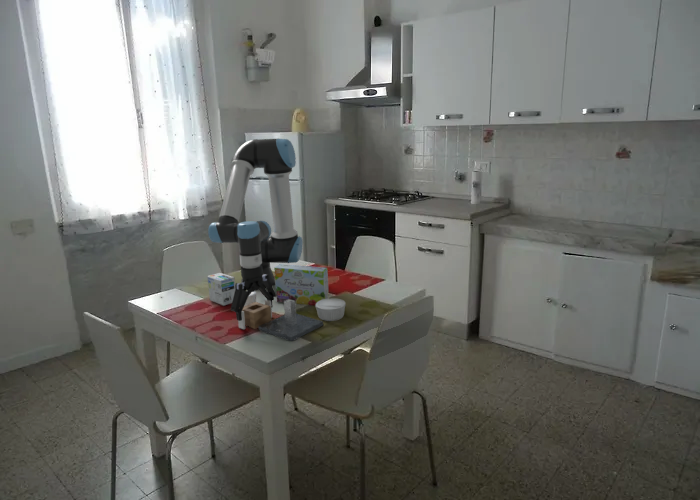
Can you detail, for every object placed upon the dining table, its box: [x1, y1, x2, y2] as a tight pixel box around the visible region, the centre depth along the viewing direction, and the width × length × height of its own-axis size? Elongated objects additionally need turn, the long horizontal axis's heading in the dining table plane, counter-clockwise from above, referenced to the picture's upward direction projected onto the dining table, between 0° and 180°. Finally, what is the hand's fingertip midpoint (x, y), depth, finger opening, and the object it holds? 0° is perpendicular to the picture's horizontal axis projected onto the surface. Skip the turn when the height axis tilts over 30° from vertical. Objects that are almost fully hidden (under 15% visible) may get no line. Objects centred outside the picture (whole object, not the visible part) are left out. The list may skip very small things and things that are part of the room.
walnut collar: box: [242, 301, 273, 330], centre depth 174 cm, size 8×8×6 cm
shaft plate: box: [258, 299, 324, 342], centre depth 168 cm, size 16×16×10 cm
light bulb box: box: [206, 272, 236, 307], centre depth 196 cm, size 11×7×11 cm, turn 47°
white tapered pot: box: [244, 290, 257, 306], centre depth 186 cm, size 7×7×7 cm
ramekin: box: [315, 297, 346, 322], centre depth 178 cm, size 11×11×5 cm
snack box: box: [273, 263, 330, 307], centre depth 192 cm, size 21×6×15 cm, turn 72°
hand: (255, 322), depth 174 cm, fingers open, 12 cm apart
